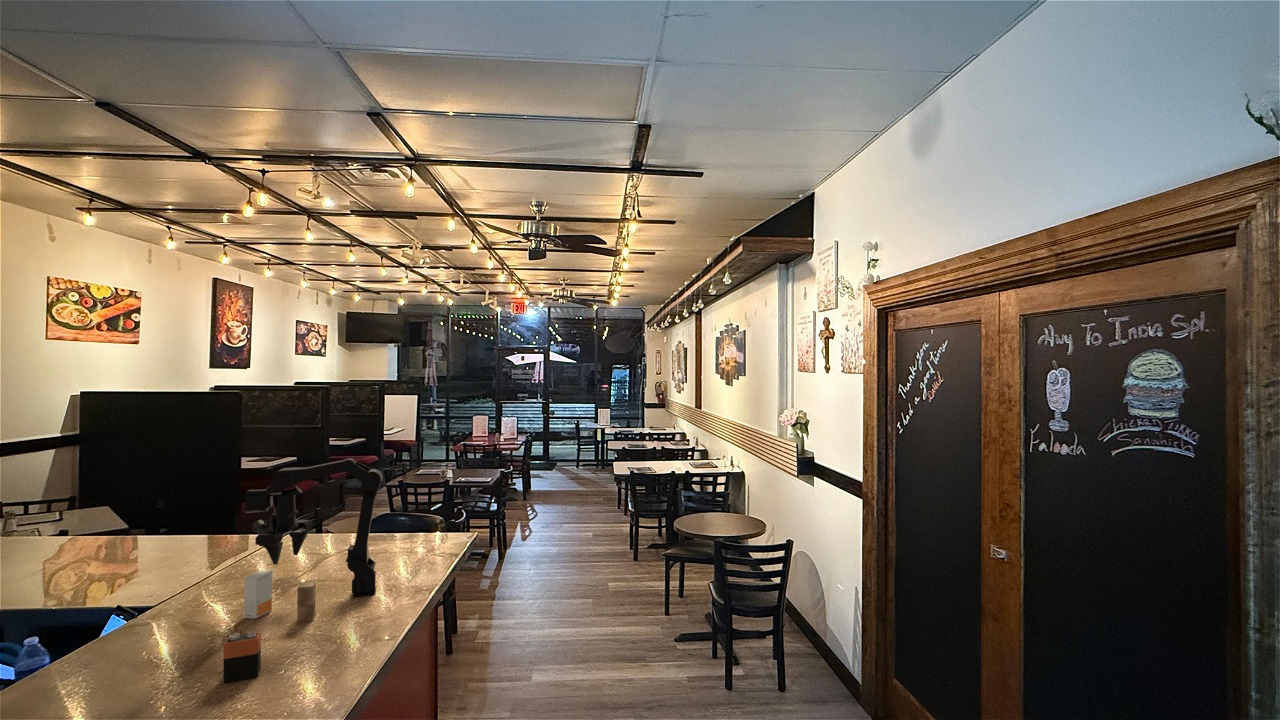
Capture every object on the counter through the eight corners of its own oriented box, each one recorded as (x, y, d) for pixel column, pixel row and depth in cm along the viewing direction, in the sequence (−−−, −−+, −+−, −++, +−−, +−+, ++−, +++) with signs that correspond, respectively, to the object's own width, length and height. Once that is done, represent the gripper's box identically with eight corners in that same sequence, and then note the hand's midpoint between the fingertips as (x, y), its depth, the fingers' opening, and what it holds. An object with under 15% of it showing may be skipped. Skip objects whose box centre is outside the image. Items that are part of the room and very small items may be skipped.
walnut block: (315, 615, 175) (315, 581, 175) (312, 621, 171) (313, 586, 171) (299, 617, 174) (300, 583, 174) (297, 623, 170) (297, 587, 170)
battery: (227, 675, 140) (227, 632, 140) (261, 669, 143) (261, 627, 143) (222, 684, 136) (223, 640, 136) (257, 678, 139) (258, 635, 139)
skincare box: (256, 619, 173) (256, 577, 173) (243, 618, 174) (243, 576, 174) (272, 611, 179) (273, 570, 179) (260, 610, 179) (261, 570, 180)
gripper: (281, 502, 196) (282, 550, 196) (237, 516, 177) (238, 569, 177) (313, 502, 195) (314, 550, 195) (273, 516, 176) (274, 569, 176)
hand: (285, 559), depth 186 cm, fingers open, 9 cm apart
